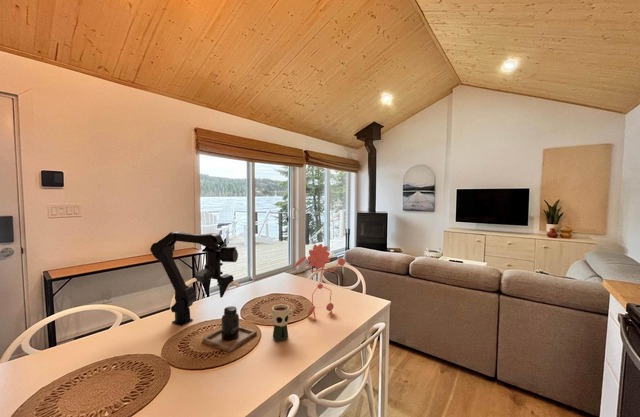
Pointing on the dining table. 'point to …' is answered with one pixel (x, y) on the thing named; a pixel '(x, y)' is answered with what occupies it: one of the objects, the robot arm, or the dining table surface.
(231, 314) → the supplement bottle
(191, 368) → the dining table surface
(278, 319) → the character mug
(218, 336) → the tray
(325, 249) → the figurine
